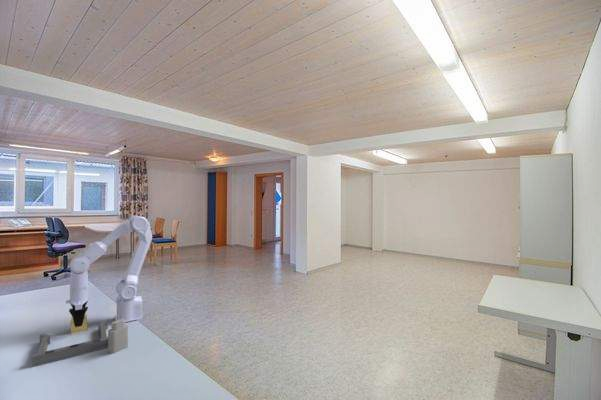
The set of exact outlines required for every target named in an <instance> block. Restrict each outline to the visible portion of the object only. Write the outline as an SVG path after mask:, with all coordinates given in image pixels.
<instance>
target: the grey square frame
mask: <svg viewBox="0 0 601 400" xmlns="http://www.w3.org/2000/svg"><path fill="white" fill-rule="evenodd" d="M108 326H109V321H108V320H104V321H102V322H101V323H99V324H98V326H97V327H98V330H97V331H98V334H99V337H100V338H97V339H93V340H89V341H85V342H80V343H76V344H71V345H67V346H63V347H58V348H55V349H50V350H48V347H49V345H51V335H49V334H48V333H41V334H39V347H38V350H37V352H36V353H34V354H32V356H31V368H34V367H38V366H42V365H46V364H50V363H52V362H53V363H54V362H58V361H60V360H65V359H69V358H70V359H71V358H73V357H77V356H80V355H81V356H82V355H86V354H90V353H94V352H97V351H102V350H106V349H108V334H107V330H109V329H108Z"/></svg>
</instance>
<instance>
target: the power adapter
mask: <svg viewBox="0 0 601 400" xmlns="http://www.w3.org/2000/svg"><path fill="white" fill-rule="evenodd" d="M116 317H117V314H115V315H114V321H112V322H111V324H110V326H111V329H107V331H108V332H107V333H108V334H107V337H108V348H107V351H108V352H107V353H109V354H116V353H118V352H121V351H123V350H125V349H126V348H128V347H129V346H128V345H129V325H127V324H126V322H125V319H122V316H120V319H119V320H116Z"/></svg>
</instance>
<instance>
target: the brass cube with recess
mask: <svg viewBox="0 0 601 400" xmlns="http://www.w3.org/2000/svg"><path fill="white" fill-rule="evenodd" d="M85 331H88V314H86V313H85V316H84V320H83V324H82V326H79V327H75V325H74V321H73V317H72V316H71V317H70V334H77V333H81V332H85Z"/></svg>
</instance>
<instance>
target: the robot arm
mask: <svg viewBox="0 0 601 400" xmlns="http://www.w3.org/2000/svg"><path fill="white" fill-rule="evenodd" d="M133 232H134V234H135V235H136V237H138V239H137V242H136V245H135V247H134V248H135V249H134V250H133V253H132V256H131V258H130V261H129V264H128V266H127V269H126V271H125V273H124V275H123V277H122V278H121V280H120V282H119V283H117V285H116V289H115V290H116V292H117V294H118V296H117V297H116V320H119V319H120V316H122V319H125V323H129V322H133V321H137V320H142V319H143V298H142V296H141V295H138V296H137V293H138V289H137V287H138V286H137V285H138V283H139V276H140V273H141V270H142V267H143V264H144V263H145V262H144V261H145V259H146V256H147V253H148V251H149V248H150V246H151V242H152V239H153V234H152V233H153V232H152V230H151V223H150V222H149V220H147V218H146V217H144V216H141V215H132V216H130V217H129V218H128V219H126V220H124V221H123V222H121V223H120V224H119V225H118V226H117V227H115V228H114V229H113V230H112V231H111V232H110V233H109V234H107V236H105V237H104V238H103V239H102V240H100V241H94V242H90V243H89V244H88V247H87V248H86V249H84V250H83V251H82V252H79V253H78V254H77V256H75V257H73V258H72V259H71V260H70V262H69V265H68V266H69V268H70V273H69V274H70V277H69V299H67V300H65V304H70V306H71V307H72V308H69V311H68V312H69V314H70V315H71V317H73V321H74V325H75V327H79V326H82V324H83V320H84V316H85V315H86V313H87V311H88V309H89V306H87V304H88V301H89V299H90V297H89V273H88V271H89V268H90V265H91V264H94V263H95V262H96V261H97V260H98V259H99V258H101V257H102V256H103V255H104V254H105V253H106V252H107V250H108V249H107V248H108V247H109V246H110V245H112V243H114V242H115V241H116V240H118V239H119V238H120V237H122V236H123V235H124V234H128V233H133ZM132 317H133V318H132Z"/></svg>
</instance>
